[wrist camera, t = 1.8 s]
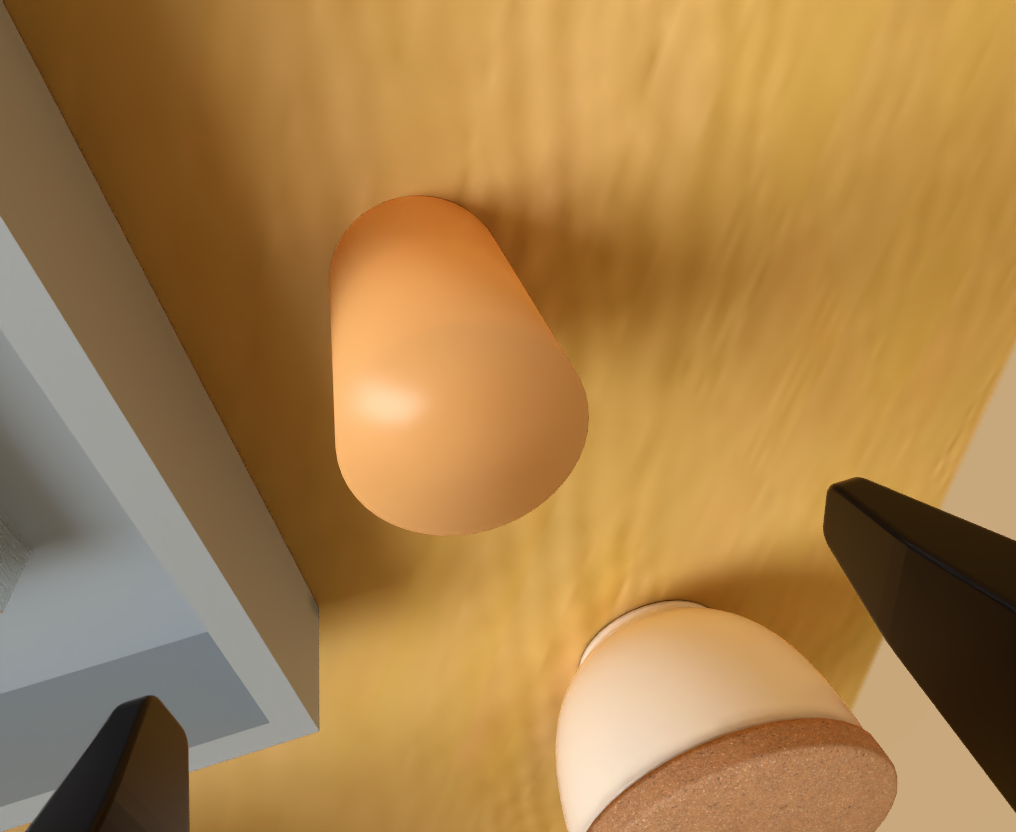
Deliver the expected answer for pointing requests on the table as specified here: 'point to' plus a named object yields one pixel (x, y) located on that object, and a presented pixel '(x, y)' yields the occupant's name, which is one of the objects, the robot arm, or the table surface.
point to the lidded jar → (711, 733)
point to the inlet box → (119, 494)
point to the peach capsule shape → (445, 374)
